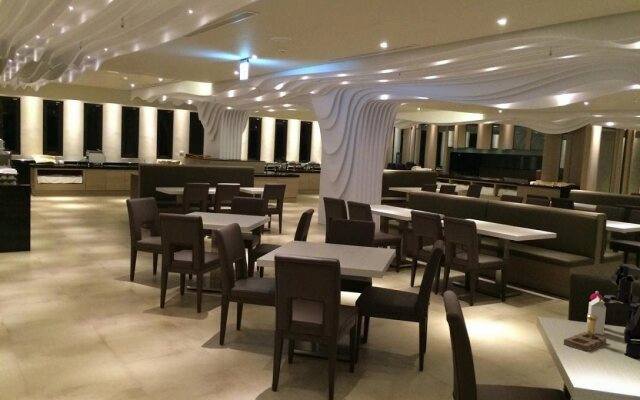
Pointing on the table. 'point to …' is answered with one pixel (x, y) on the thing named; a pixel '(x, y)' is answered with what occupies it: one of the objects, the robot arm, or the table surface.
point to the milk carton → (598, 314)
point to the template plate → (584, 342)
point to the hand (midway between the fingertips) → (621, 319)
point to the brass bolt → (591, 326)
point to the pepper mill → (595, 296)
